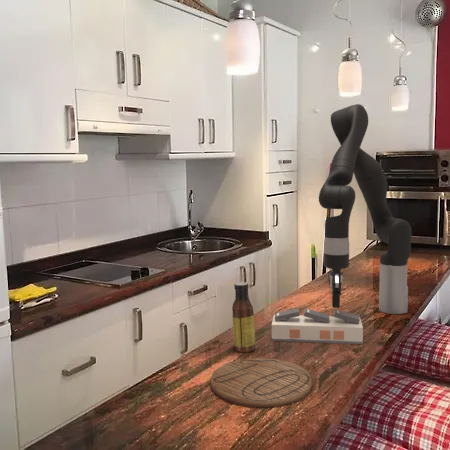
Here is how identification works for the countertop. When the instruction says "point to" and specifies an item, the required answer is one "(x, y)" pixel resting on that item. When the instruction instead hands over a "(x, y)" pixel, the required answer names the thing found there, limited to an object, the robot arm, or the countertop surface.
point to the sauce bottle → (243, 319)
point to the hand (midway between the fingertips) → (335, 307)
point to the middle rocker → (316, 315)
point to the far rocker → (287, 314)
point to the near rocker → (346, 316)
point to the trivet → (261, 382)
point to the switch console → (317, 330)
